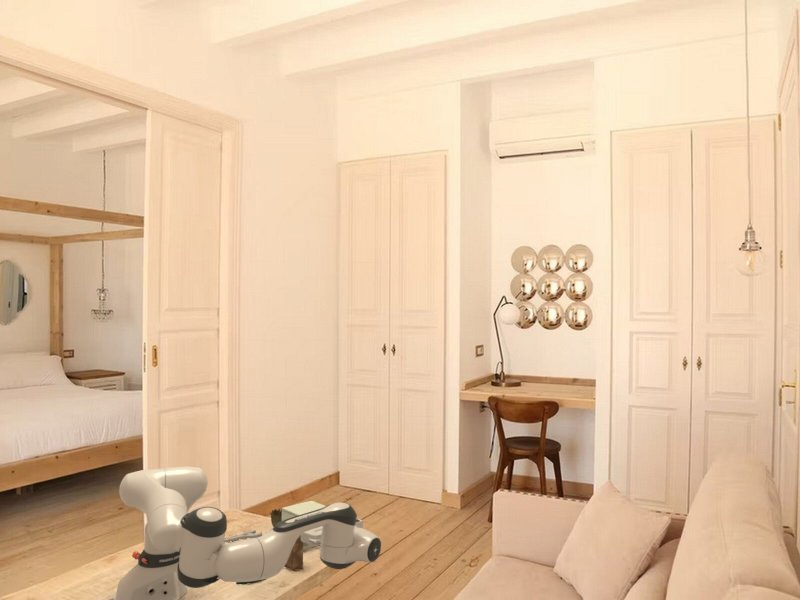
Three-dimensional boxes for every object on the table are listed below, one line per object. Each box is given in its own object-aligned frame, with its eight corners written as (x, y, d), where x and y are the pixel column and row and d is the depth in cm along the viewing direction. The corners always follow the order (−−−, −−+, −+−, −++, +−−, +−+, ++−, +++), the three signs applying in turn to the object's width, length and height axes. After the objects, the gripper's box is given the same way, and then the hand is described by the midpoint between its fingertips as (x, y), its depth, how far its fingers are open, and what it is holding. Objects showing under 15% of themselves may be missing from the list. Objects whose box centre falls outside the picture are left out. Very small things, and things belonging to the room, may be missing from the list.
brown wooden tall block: (292, 571, 220) (293, 535, 220) (282, 565, 224) (283, 531, 224) (302, 567, 223) (303, 532, 223) (292, 562, 227) (293, 528, 227)
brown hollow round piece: (285, 535, 253) (285, 515, 253) (267, 534, 254) (267, 513, 255) (291, 528, 261) (291, 509, 261) (274, 527, 262) (274, 507, 262)
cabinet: (300, 552, 236) (301, 516, 236) (279, 542, 246) (280, 508, 246) (332, 542, 246) (332, 508, 247) (311, 533, 256) (311, 500, 256)
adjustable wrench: (198, 550, 238) (198, 546, 238) (193, 545, 243) (193, 540, 243) (263, 537, 251) (263, 533, 251) (257, 532, 257) (257, 528, 257)
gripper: (315, 554, 198) (289, 541, 208) (366, 537, 212) (339, 526, 222) (315, 533, 198) (290, 522, 208) (366, 518, 212) (339, 508, 222)
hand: (316, 524), depth 215 cm, fingers open, 8 cm apart
